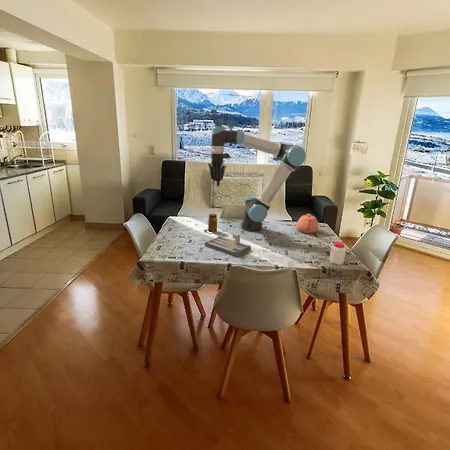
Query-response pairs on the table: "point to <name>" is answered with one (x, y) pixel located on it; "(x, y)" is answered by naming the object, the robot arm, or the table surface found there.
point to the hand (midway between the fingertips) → (216, 190)
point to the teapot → (307, 224)
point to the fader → (231, 243)
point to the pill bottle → (337, 252)
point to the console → (221, 245)
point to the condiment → (212, 223)
